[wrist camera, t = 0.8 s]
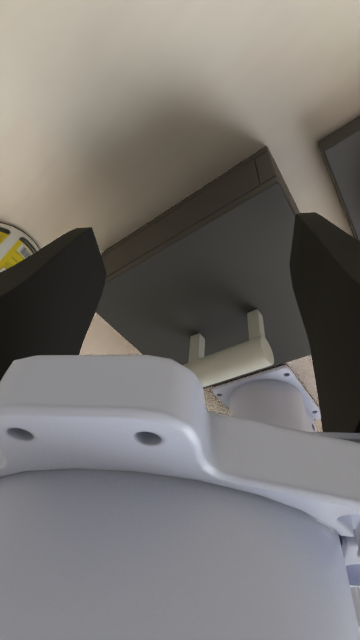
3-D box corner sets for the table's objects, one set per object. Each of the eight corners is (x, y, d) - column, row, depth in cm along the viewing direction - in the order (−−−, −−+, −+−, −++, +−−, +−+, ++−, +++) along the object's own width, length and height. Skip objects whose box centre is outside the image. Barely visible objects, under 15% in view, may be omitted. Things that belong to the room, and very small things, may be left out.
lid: (354, 331, 21) (378, 393, 17) (187, 387, 26) (182, 440, 23) (276, 175, 15) (290, 224, 11) (83, 290, 20) (56, 345, 17)
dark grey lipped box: (333, 280, 23) (349, 323, 20) (186, 341, 29) (182, 381, 26) (266, 145, 18) (276, 174, 15) (101, 252, 24) (83, 290, 20)
